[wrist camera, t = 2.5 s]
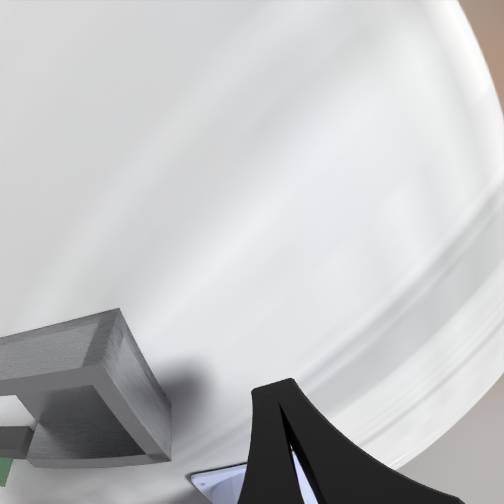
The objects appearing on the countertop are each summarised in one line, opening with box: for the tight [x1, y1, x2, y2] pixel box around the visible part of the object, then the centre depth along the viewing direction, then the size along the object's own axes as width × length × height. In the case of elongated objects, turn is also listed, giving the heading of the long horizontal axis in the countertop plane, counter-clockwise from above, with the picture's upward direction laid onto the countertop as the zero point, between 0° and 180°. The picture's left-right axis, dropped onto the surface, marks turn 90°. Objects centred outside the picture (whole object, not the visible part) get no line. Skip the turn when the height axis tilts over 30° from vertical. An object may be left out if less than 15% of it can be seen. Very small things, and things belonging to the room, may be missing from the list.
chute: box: [0, 308, 171, 468], centre depth 11 cm, size 6×8×4 cm
